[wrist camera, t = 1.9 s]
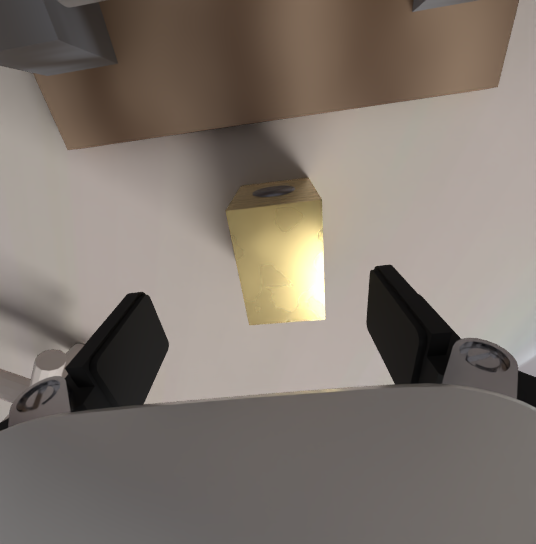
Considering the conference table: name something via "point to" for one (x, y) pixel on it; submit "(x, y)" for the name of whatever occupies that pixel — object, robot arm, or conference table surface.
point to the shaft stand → (243, 59)
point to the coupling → (279, 250)
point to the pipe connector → (36, 372)
